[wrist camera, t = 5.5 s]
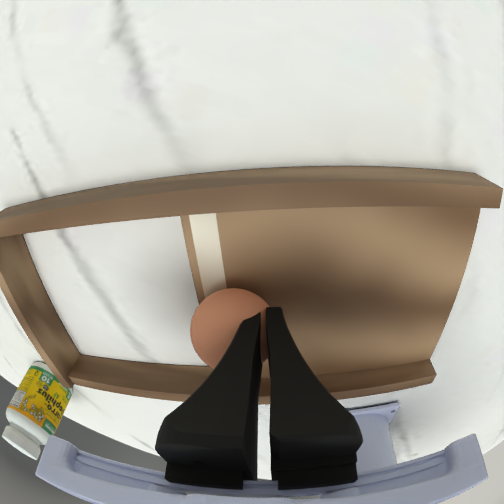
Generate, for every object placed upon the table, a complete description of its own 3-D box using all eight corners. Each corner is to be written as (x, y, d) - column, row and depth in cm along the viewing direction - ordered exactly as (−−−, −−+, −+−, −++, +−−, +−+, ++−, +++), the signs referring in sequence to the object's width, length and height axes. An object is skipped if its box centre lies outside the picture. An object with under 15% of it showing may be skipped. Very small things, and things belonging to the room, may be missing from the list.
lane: (421, 358, 18) (433, 388, 16) (76, 360, 20) (63, 386, 18) (474, 173, 12) (509, 192, 9) (5, 208, 14) (-24, 228, 11)
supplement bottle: (25, 360, 22) (-12, 426, 14) (50, 359, 21) (8, 437, 13) (56, 392, 25) (26, 457, 16) (83, 394, 24) (52, 469, 15)
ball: (186, 367, 14) (223, 310, 17) (257, 398, 13) (289, 333, 15) (162, 324, 11) (211, 260, 14) (250, 363, 10) (291, 284, 12)
